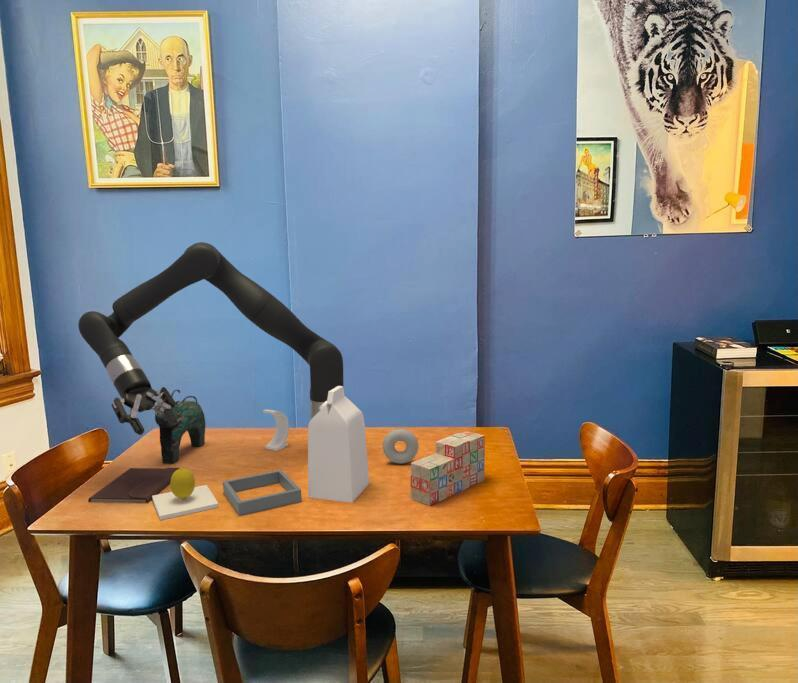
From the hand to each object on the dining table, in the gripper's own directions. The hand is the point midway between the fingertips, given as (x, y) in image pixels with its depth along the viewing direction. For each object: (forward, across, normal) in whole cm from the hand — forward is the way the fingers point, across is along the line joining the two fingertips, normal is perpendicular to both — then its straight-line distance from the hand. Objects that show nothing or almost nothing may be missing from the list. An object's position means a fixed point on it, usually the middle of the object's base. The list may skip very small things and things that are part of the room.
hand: (158, 428), depth 149 cm
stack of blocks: (+52, +42, -28) cm, 73 cm away
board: (+18, 0, +6) cm, 19 cm away
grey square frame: (+27, +13, -3) cm, 30 cm away
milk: (+37, +27, -12) cm, 47 cm away
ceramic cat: (-4, +21, +28) cm, 35 cm away
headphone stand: (+10, +41, +14) cm, 44 cm away
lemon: (+18, 0, +6) cm, 18 cm away
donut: (+38, +50, -14) cm, 64 cm away
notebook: (+5, 0, +20) cm, 21 cm away
